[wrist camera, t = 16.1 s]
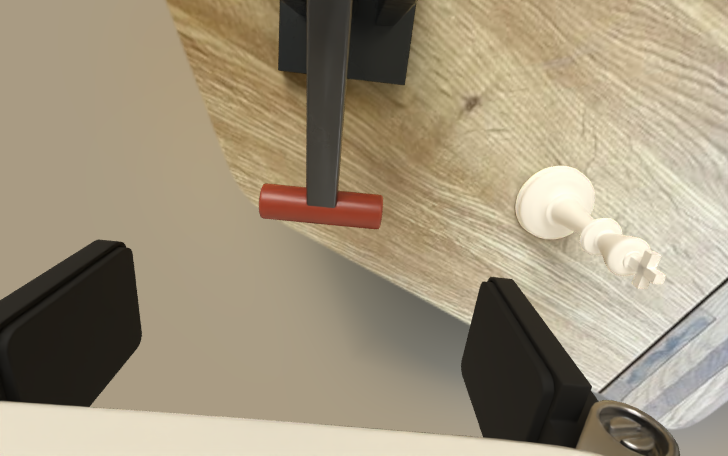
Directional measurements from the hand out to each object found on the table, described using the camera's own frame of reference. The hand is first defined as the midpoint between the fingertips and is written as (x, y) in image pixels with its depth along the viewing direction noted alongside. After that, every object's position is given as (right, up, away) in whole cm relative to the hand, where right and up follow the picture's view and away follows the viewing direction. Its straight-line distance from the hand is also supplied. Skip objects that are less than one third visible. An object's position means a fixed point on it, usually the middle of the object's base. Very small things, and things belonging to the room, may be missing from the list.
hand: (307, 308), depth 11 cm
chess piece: (+14, +4, +15) cm, 21 cm away
